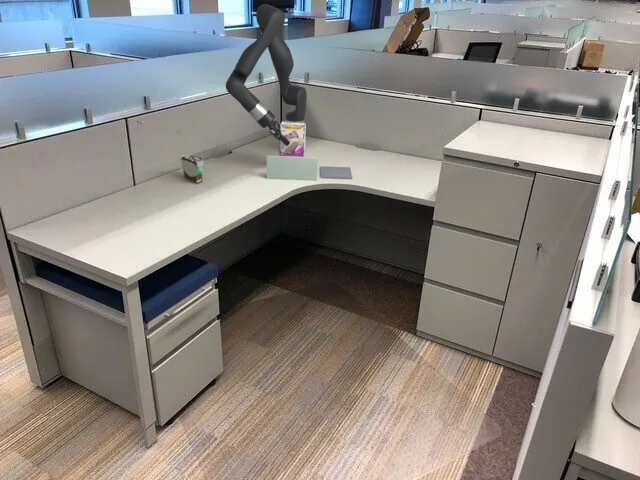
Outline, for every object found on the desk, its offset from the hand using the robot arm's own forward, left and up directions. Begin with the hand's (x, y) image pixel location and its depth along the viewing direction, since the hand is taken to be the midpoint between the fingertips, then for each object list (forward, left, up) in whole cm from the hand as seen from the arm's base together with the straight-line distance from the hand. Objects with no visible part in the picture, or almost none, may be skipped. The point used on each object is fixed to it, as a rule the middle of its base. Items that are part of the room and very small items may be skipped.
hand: (288, 142), depth 225 cm
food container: (+14, -39, -14) cm, 44 cm away
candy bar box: (0, +2, -8) cm, 8 cm away
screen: (+9, +2, -14) cm, 17 cm away
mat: (0, +22, -14) cm, 26 cm away
